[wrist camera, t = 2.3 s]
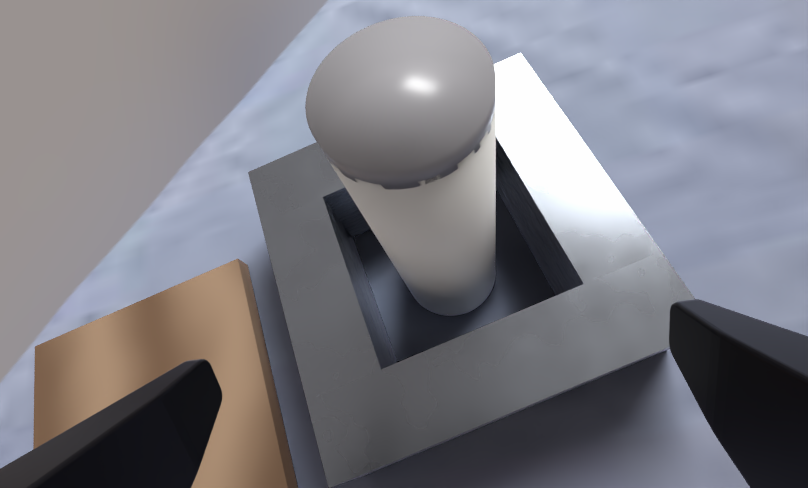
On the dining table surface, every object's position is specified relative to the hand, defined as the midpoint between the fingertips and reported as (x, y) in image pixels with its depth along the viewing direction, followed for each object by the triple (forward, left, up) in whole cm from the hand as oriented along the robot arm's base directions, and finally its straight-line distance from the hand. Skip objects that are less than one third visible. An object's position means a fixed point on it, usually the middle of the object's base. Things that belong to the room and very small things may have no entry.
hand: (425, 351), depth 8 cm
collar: (+2, +6, -12) cm, 13 cm away
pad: (-14, +5, -12) cm, 19 cm away
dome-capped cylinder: (+2, +6, -12) cm, 13 cm away
